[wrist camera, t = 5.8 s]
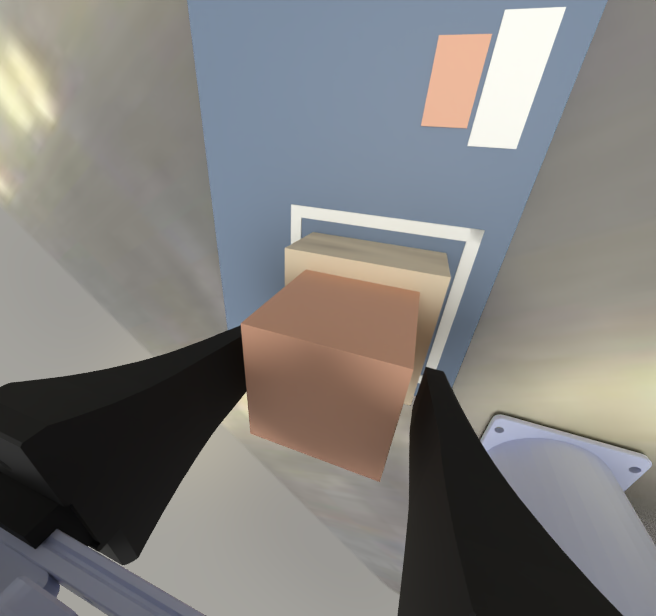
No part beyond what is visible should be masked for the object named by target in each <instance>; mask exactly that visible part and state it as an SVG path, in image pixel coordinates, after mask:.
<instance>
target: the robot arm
mask: <svg viewBox="0 0 656 616" xmlns="http://www.w3.org/2000/svg"><path fill="white" fill-rule="evenodd" d="M246 391H247V389H246V378H245V367H244V356H243V345H242V334H241V325H240V326H237V327H235V328H232V329H230V330H228V331H225V332H223V333H220V334H218V335H215V336H213V337H210V338H208V339H205V340H203V341H200V342H198V343H195V344H192V345H189V346H187V347H184V348H181V349H179V350H176V351H173V352H170V353H167V354H163V355H160V356H157V357H153V358H150V359H146V360H143V361H139V362H135V363H130V364H126V365H122V366H117V367H113V368H109V369H104V370H99V371H93V372H88V373H82V374H76V375H70V376H64V377H56V378H48V379H40V380H31V381H23V382H13V383H8V384H6V385H3V386H1V387H0V616H78V615H77V614H76V613H75V612H74V611H73V610H72V609H70V608H69V607H68V606H66V605H65V604H64V603H62V602H61V601H59V600H58V599H57V595H58V592H59V588H60V585H59V584H61V585H62V586H64V587H65V588H67V589H68V590H70V591H71V592H73V593H74V594H76V595H77V596H79V597H81V598H82V599H84V600H85V601H87V602H88V603H90V604H91V605H93V606H95V607H96V608H98V609H99V610H101V611H102V612H104V613H105V614H107V615H108V616H206V615H204V614H202V613H201V612H199V611H197V610H195V609H194V608H192V607H190V606H188V605H187V604H185V603H183V602H182V601H180V600H178V599H176V598H175V597H173V596H171V595H169V594H168V593H166V592H165V591H163V590H161V589H159V588H158V587H156V586H154V585H152V584H151V583H149V582H147V581H145V580H144V579H142V578H140V577H139V576H137V575H135V574H134V573H132V572H130V571H128V570H127V569H125V568H123V567H122V566H120V565H118V564H116V563H115V562H113V561H111V560H110V559H108V558H106V557H104V556H103V555H101V554H99V553H98V552H96V551H99V552H101V553H103V554H104V555H106V556H107V557H109V558H111V559H113V560H114V561H116V562H118V563H120V564H121V565H126V564H128V563H130V562H132V561H134V560H135V559H137V558H138V557H139V555H140V553H141V552H142V550H143V548H144V546H145V544H146V542H147V540H148V539H149V536H150V535H151V533H152V531H153V530H154V528H155V526H156V524H157V522H158V520H159V519H160V517H161V515H162V513H163V512H164V510H165V508H166V506H167V505H168V503H169V501H170V500H171V498H172V496H173V495H174V493H175V491H176V489H177V488H178V486H179V484H180V483H181V481H182V479H183V478H184V476H185V475H186V473H187V472H188V470H189V468H190V467H191V465H192V464H193V462H194V461H195V459H196V457H197V456H198V454H199V453H200V451H201V450H202V448H203V447H204V446H205V444H206V443H207V441H208V440H209V438H210V437H211V435H212V434H213V432H214V431H215V430H216V428H217V427H218V426H219V425H220V423H221V422H222V421H223V420H224V418H225V417H226V416H227V415H228V414H229V412H230V411H231V410H232V409H233V407H234V406H235V405H236V404H237V403H238V401H239V400H240V399H241V398H242V396H243V395H244V394H245V393H246ZM496 427H501V428H496ZM651 466H652V462H651V461H650V460H649V458H648V457H647V456H646V455H644V454H641V453H638V452H634V451H630V450H627V449H623V448H620V447H616V446H613V445H609V444H606V443H602V442H598V441H595V440H591V439H588V438H584V437H581V436H577V435H574V434H570V433H566V432H563V431H559V430H556V429H552V428H549V427H545V426H542V425H538V424H534V423H531V422H527V421H524V420H520V419H517V418H513V417H510V416H506V415H501V414H499V415H495V416H494V417H493V418H492V419H491V421H490V423H489V425H488V427H487V429H486V430H485V432H484V434H483V436H482V438H481V440H479V438H478V437H477V435H476V433H475V432H474V430H473V428H472V426H471V425H470V423H469V421H468V419H467V417H466V416H465V414H464V412H463V410H462V408H461V406H460V404H459V402H458V400H457V398H456V396H455V394H454V392H453V390H452V388H451V386H450V383H449V381H448V379H447V377H446V375H445V373H444V371H440V370H437V369H433V368H429V367H425V370H424V373H423V376H422V380H421V383H420V386H419V389H418V392H417V395H416V398H415V401H414V404H413V409H412V417H411V425H410V445H409V512H408V523H407V533H406V544H405V553H404V563H403V572H402V582H401V591H400V599H399V608H398V616H656V545H655V544H654V542H653V540H652V539H651V537H650V535H649V534H648V532H647V530H646V528H645V527H644V525H643V523H642V522H641V520H640V518H639V517H638V515H637V513H636V512H635V510H634V508H633V507H632V505H631V503H630V502H629V500H628V498H627V496H626V495H625V493H624V491H625V490H626V489H628V488H629V487H630V486H631V485H632V484H633V483H634V482H635V481H636V480H637V479H639V478H640V477H641V476H642V475H643V474H644V473H645V472H646V471H647V470H648V469H649V468H650V467H651ZM88 546H89V547H91V548H93V549H95V550H96V551H94V550H92V549H91V548H89V547H88Z"/></svg>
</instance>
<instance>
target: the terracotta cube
mask: <svg viewBox="0 0 656 616" xmlns="http://www.w3.org/2000/svg"><path fill="white" fill-rule="evenodd" d="M419 297H420V292H417V291H412V290H407V289H402V288H397V287H392V286H387V285H382V284H377V283H372V282H367V281H362V280H357V279H352V278H346V277H341V276H336V275H331V274H326V273H321V272H316V271H311V270H304V271H303V272H302V273H301V274H300V275H298V276H297V277H296V278H295V279H293V280H292V281H291V282H290V283H289V284H287V285H286V286H285V287H284V288H283V289H281V290H280V291H279V292H278V293H277V294H275V295H274V296H273V297H272V298H271V299H269V300H268V301H267V302H266V303H265V304H263V305H262V306H261V307H260V308H259V309H257V310H256V311H255V312H254V313H252V314H251V315H250V316H249V317H248V318H246V319H245V320H244V321H243V322H242V323H241V334H242V345H243V356H244V367H245V378H246V389H247V400H248V411H249V422H250V433H251V434H253V435H256V436H259V437H261V438H264V439H267V440H269V441H272V442H275V443H277V444H280V445H283V446H285V447H288V448H291V449H293V450H296V451H299V452H301V453H304V454H307V455H309V456H312V457H315V458H317V459H320V460H323V461H325V462H328V463H331V464H333V465H336V466H339V467H341V468H344V469H347V470H349V471H352V472H355V473H357V474H360V475H363V476H365V477H368V478H371V479H373V480H376V481H379V482H380V479H381V476H382V473H383V470H384V466H385V463H386V460H387V456H388V453H389V450H390V446H391V443H392V440H393V436H394V433H395V430H396V426H397V423H398V420H399V416H400V413H401V410H402V406H403V403H404V400H405V396H406V393H407V390H408V387H409V383H410V380H411V377H412V373H413V370H414V359H415V346H416V334H417V322H418V309H419Z"/></svg>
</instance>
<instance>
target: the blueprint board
mask: <svg viewBox="0 0 656 616" xmlns="http://www.w3.org/2000/svg"><path fill="white" fill-rule="evenodd" d="M607 1H608V0H187V2H188V10H189V19H190V27H191V35H192V43H193V51H194V59H195V67H196V76H197V84H198V92H199V100H200V108H201V116H202V124H203V133H204V141H205V149H206V157H207V165H208V173H209V181H210V190H211V198H212V206H213V214H214V222H215V230H216V238H217V246H218V255H219V263H220V271H221V279H222V287H223V295H224V303H225V312H226V320H227V328H228V330H230V329H232V328H235V327H237V326H240V325H241V323H242V322H243V321H244V320H245V319H246V318H248V317H249V316H250V315H251V314H252V313H254V312H255V311H256V310H257V309H259V308H260V307H261V306H262V305H263V304H265V303H266V302H267V301H268V300H269V299H271V298H272V297H273V296H274V295H275V294H277V293H278V292H279V291H280V290H281V289H283V288H284V287H285V248H286V247H287V246H289V245H291V244H293V243H294V242H296V241H298V240H300V239H302V238H303V237H305V236H307V235H309V234H310V233H312V232H316V233H323V234H329V235H335V236H342V237H348V238H354V239H361V240H367V241H373V242H380V243H386V244H392V245H399V246H405V247H411V248H418V249H424V250H430V251H437V252H443V253H446V254H447V259H448V264H449V270H450V275H451V279H450V282H449V286H448V289H447V292H446V295H445V298H444V301H443V305H442V308H441V311H440V314H439V317H438V320H437V324H436V327H435V330H434V333H433V336H432V339H431V343H430V346H429V349H428V352H427V355H426V358H425V362H424V365H423V368H422V371H421V374H420V377H419V381H418V384H417V387H416V390H415V393H414V396H416V395H417V392H418V389H419V386H420V383H421V380H422V376H423V373H424V370H425V367H429V368H433V369H437V370H440V371H444V373H445V375H446V377H447V379H448V381H449V383H450V386H451V388H452V386H453V384H454V382H455V379H456V377H457V374H458V372H459V369H460V367H461V364H462V362H463V359H464V357H465V354H466V352H467V349H468V347H469V344H470V342H471V339H472V337H473V334H474V332H475V329H476V327H477V324H478V322H479V319H480V317H481V314H482V312H483V309H484V307H485V304H486V302H487V299H488V297H489V294H490V292H491V289H492V287H493V284H494V282H495V279H496V277H497V275H498V272H499V270H500V267H501V265H502V262H503V260H504V257H505V255H506V252H507V250H508V247H509V245H510V242H511V240H512V237H513V235H514V232H515V230H516V227H517V225H518V222H519V220H520V217H521V215H522V212H523V210H524V207H525V205H526V202H527V200H528V197H529V195H530V192H531V190H532V187H533V185H534V182H535V180H536V177H537V175H538V172H539V170H540V168H541V165H542V163H543V160H544V158H545V155H546V153H547V150H548V148H549V145H550V143H551V140H552V138H553V135H554V133H555V130H556V128H557V125H558V123H559V120H560V118H561V115H562V113H563V110H564V108H565V105H566V103H567V100H568V98H569V95H570V93H571V90H572V88H573V85H574V83H575V80H576V78H577V75H578V73H579V70H580V68H581V65H582V63H583V61H584V58H585V56H586V53H587V51H588V48H589V46H590V43H591V41H592V38H593V36H594V33H595V31H596V28H597V26H598V23H599V21H600V18H601V16H602V13H603V11H604V8H605V6H606V3H607Z"/></svg>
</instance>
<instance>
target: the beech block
mask: <svg viewBox="0 0 656 616" xmlns="http://www.w3.org/2000/svg"><path fill="white" fill-rule="evenodd" d="M304 270H311V271H316V272H321V273H326V274H331V275H336V276H341V277H346V278H352V279H357V280H362V281H367V282H372V283H377V284H382V285H387V286H392V287H397V288H402V289H407V290H412V291H417V292H420V297H419V309H418V322H417V334H416V346H415V359H414V370H413V373H412V377H411V380H410V383H409V387H408V390H407V393H406V396H405V400H404V403H403V404H406V405H409V406H411V403H412V400H413V396H414V393H415V390H416V387H417V384H418V381H419V377H420V374H421V371H422V368H423V365H424V362H425V358H426V355H427V352H428V349H429V346H430V343H431V339H432V336H433V333H434V330H435V327H436V324H437V320H438V317H439V314H440V311H441V308H442V305H443V301H444V298H445V295H446V292H447V289H448V286H449V282H450V279H451V275H450V270H449V264H448V259H447V254H446V253H443V252H437V251H430V250H424V249H418V248H411V247H405V246H399V245H392V244H386V243H380V242H373V241H367V240H361V239H354V238H348V237H342V236H335V235H329V234H323V233H316V232H312V233H310V234H309V235H307V236H305V237H303V238H302V239H300V240H298V241H296V242H294V243H293V244H291V245H289V246H287V247H286V248H285V286H286V285H287V284H289V283H290V282H291V281H292V280H293V279H295V278H296V277H297V276H298V275H300V274H301V273H302V272H303V271H304Z"/></svg>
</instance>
